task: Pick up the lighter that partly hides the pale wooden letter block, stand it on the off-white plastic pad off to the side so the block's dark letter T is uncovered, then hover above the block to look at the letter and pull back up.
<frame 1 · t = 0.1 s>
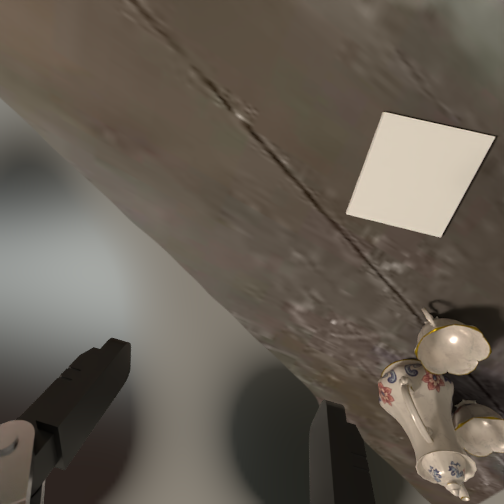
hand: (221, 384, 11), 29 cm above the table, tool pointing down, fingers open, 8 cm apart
pad: (412, 178, 34), on the table
chinaware: (427, 372, 45), on the table
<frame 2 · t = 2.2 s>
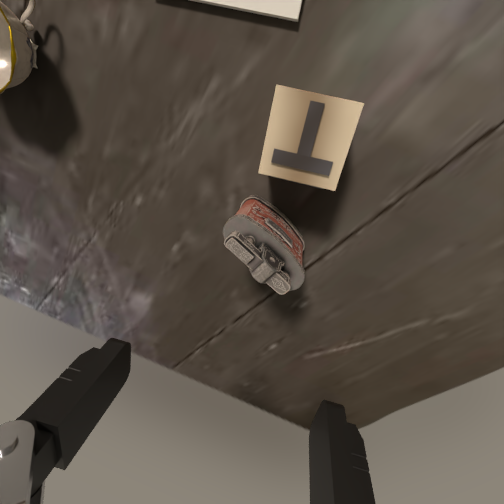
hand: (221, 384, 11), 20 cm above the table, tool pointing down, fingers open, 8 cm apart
letter block: (306, 137, 26), on the table
lighter: (273, 225, 30), on the table
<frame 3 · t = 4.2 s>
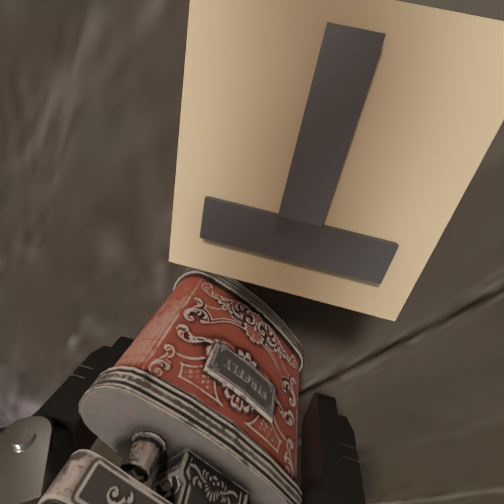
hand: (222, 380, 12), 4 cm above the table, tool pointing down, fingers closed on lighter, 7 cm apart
letter block: (308, 150, 11), on the table
lighter: (243, 316, 15), on the table, touching gripper
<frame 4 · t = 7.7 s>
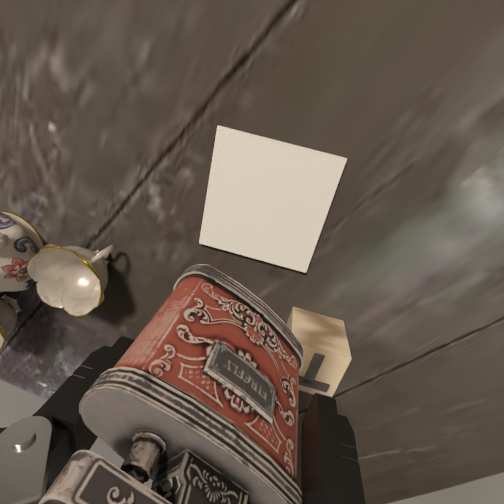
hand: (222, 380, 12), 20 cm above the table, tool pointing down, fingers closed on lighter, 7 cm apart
pad: (266, 203, 28), on the table
letter block: (310, 332, 34), on the table
lighter: (243, 317, 15), point 15 cm above the table, touching gripper
chinaware: (33, 262, 37), on the table
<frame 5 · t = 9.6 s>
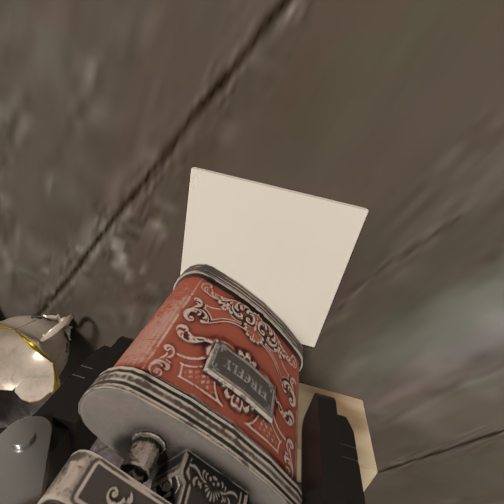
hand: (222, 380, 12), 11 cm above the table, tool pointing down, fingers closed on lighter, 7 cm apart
pad: (260, 263, 22), on the table
letter block: (320, 411, 27), on the table
lighter: (243, 316, 15), point 7 cm above the table, touching gripper
when the fingers open (6 cm above the table, at t = 11.3 s): lighter drops 1 cm, resting on pad.
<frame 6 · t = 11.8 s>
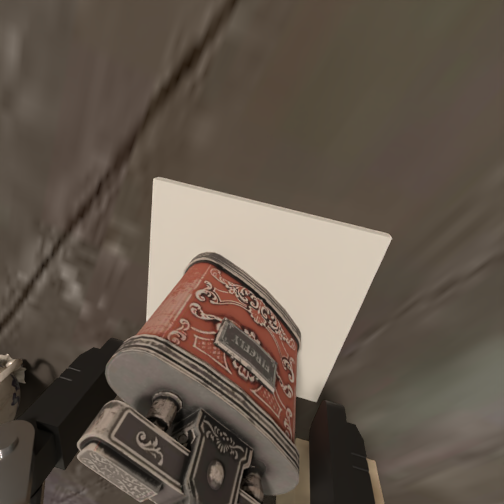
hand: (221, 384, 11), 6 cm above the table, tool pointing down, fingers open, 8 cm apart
pad: (247, 299, 17), on the table
letter block: (322, 470, 22), on the table
lighter: (246, 302, 17), resting on pad
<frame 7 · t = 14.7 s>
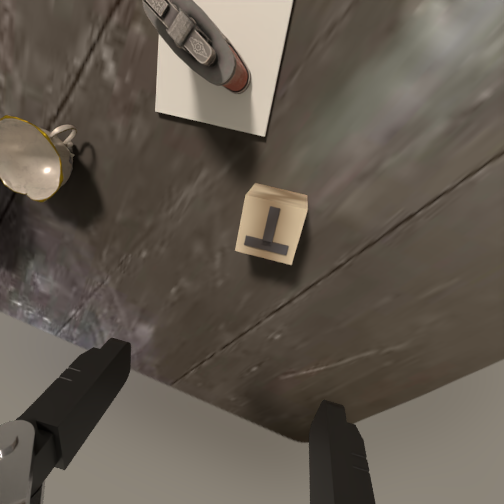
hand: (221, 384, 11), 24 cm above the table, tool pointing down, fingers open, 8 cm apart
pad: (219, 57, 28), on the table
letter block: (275, 213, 33), on the table
lighter: (218, 56, 27), resting on pad
chinaware: (1, 162, 37), on the table
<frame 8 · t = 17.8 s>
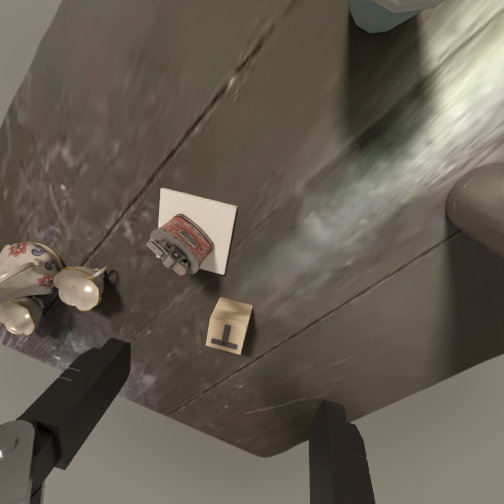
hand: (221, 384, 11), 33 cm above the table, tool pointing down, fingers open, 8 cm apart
pad: (195, 232, 46), on the table
letter block: (233, 314, 51), on the table
lighter: (194, 233, 45), resting on pad
chinaware: (54, 274, 55), on the table
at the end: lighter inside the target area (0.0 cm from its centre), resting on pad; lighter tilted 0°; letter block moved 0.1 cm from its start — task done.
